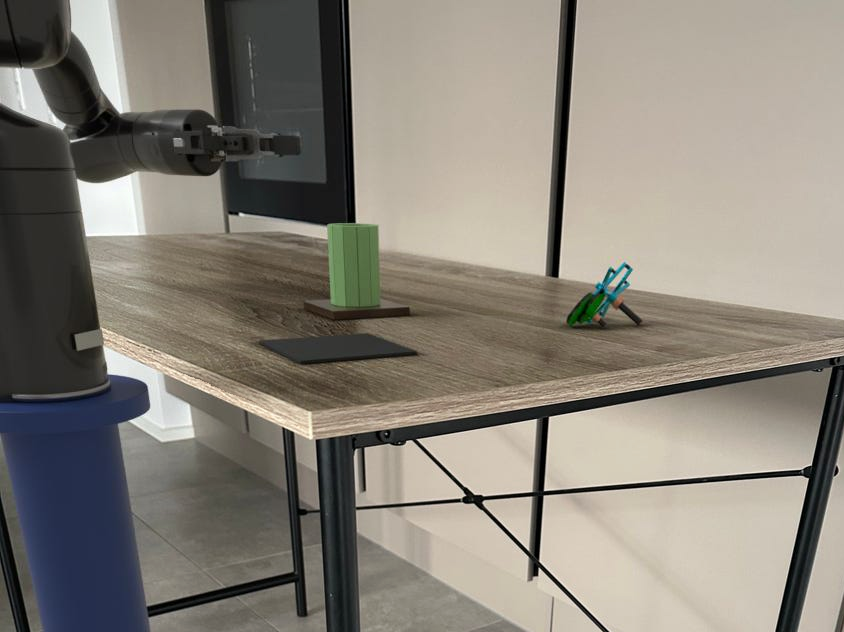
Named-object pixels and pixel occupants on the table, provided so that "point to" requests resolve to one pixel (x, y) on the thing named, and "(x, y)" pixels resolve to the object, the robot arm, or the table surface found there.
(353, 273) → the green pencil cup
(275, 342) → the mat
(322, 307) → the stand
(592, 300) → the stick construction toy
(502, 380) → the table surface
